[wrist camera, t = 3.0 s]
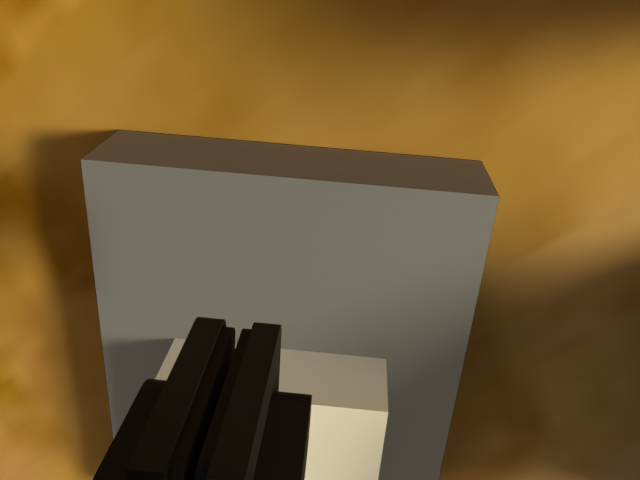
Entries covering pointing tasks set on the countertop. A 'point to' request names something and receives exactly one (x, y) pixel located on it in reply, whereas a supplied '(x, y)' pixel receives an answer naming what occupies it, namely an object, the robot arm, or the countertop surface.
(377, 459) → the tile
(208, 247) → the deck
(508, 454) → the countertop surface
